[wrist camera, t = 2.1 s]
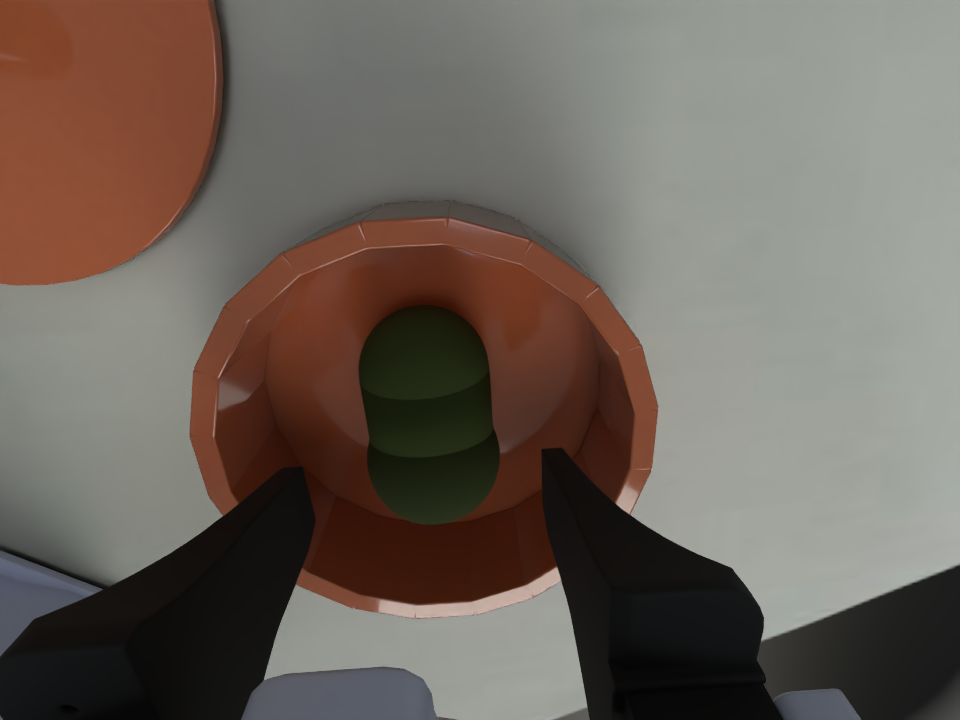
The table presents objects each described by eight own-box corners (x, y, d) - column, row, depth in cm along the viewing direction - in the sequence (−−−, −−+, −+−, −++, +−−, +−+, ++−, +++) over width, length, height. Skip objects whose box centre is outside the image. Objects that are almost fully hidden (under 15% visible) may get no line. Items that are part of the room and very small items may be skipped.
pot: (193, 437, 22) (123, 513, 17) (360, 110, 17) (322, 96, 12) (486, 574, 25) (491, 667, 21) (690, 337, 21) (754, 390, 16)
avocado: (500, 467, 22) (506, 551, 18) (388, 474, 22) (366, 559, 18) (489, 285, 19) (494, 329, 14) (358, 294, 19) (321, 341, 14)
